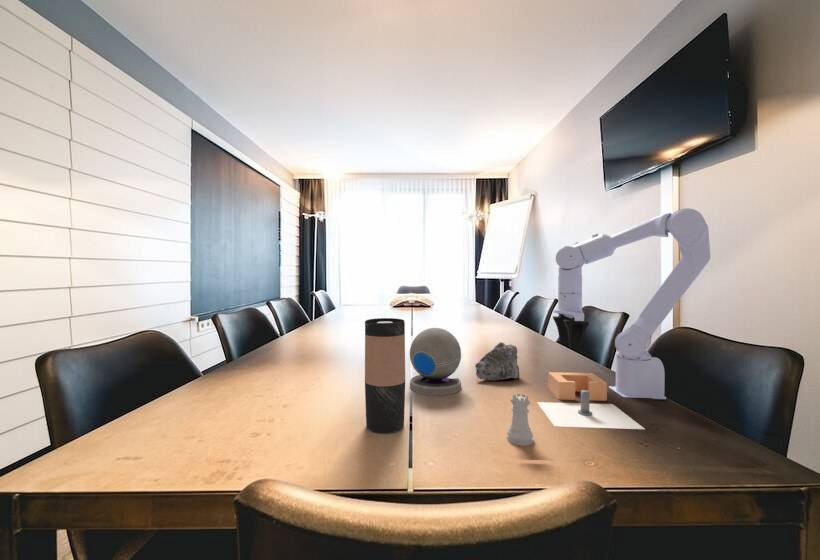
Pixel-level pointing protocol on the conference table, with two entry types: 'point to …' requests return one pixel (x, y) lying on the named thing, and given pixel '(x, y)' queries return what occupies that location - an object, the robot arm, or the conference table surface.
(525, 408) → the rook chess piece
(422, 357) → the webcam
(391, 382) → the travel mug
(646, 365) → the robot arm
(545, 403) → the stand
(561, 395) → the c link
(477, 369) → the mineral rock
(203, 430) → the conference table surface
